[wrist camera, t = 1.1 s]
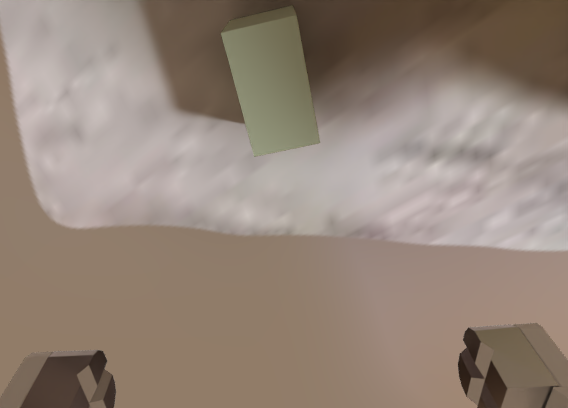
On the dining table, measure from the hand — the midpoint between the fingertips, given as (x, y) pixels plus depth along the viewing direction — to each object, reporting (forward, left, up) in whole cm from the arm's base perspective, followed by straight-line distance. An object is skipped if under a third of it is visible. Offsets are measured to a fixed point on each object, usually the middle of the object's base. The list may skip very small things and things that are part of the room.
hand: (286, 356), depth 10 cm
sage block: (0, -1, -26) cm, 26 cm away
